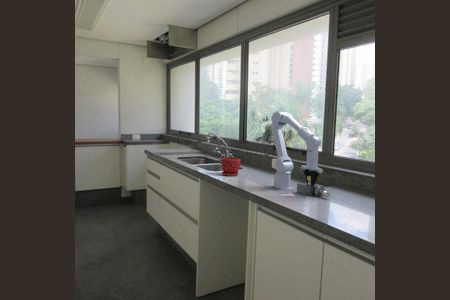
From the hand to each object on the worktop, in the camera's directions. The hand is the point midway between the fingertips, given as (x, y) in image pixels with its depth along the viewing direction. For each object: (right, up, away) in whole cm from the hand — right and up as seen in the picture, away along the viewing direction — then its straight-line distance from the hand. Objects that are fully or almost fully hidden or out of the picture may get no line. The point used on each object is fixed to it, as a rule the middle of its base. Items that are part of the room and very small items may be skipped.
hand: (310, 184), depth 170 cm
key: (0, -3, 0) cm, 3 cm away
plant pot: (-42, 0, +52) cm, 67 cm away
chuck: (+2, -6, -3) cm, 7 cm away
